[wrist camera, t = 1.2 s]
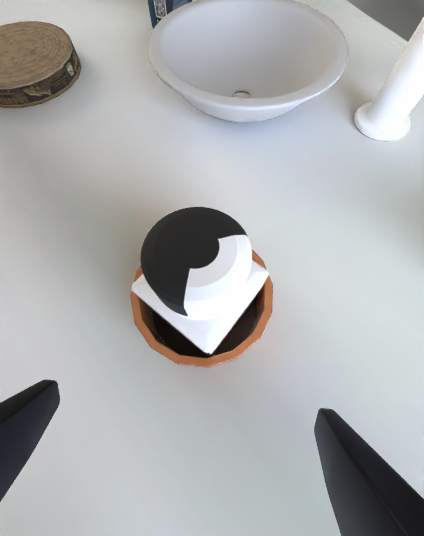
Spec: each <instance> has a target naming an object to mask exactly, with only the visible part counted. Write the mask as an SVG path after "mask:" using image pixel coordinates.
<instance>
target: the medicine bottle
mask: <svg viewBox="0 0 424 536" xmlns="http://www.w3.org/2000/svg"><path fill="white" fill-rule="evenodd" d="M141 268H142V272H143V274H142V275H141V276H140V277H139V278H138V279H137V280H136V281H135V282H134V284H133V285H132V291H133V292H134V293H135V294H136V295H137V296H138V297H139V298H140V299H141V300H142V301H143V302H144V303H145V304H146V305H147V306H148V307H149V308H151V309H152V310H153V311H154V312H155V313H156V314H157V315H158V316H159V317H161V318H162V319H163V320H164V321H165V322H167V323H168V324H169V325H170V326H171V327H172V328H174V329H175V330H176V331H177V332H178V333H179V334H181V335H182V336H183V337H184V338H185V339H187V340H188V341H189V342H190V343H191V344H192V345H194V346H195V347H196V348H197V349H198V350H199V351H201V352H202V353H203V354H204V355H205V356H206V357H212V356H213V355H214V353H215V352H216V351H217V349H218V348H219V347H220V345H221V344H222V343H223V341H224V340H225V339H226V337H227V336H228V335H229V333H230V332H231V331H232V329H233V328H234V326H235V325H236V324H237V322H238V321H239V320H240V318H241V317H242V316H243V314H244V313H245V312H246V310H247V309H248V308H249V306H250V305H251V304H252V302H253V301H254V300H255V298H256V296H257V294H258V293H259V291H260V289H261V287H262V286H263V284H264V282H265V280H266V279H267V277H268V271H267V270H266V269H265V268H263V267H262V266H260V265H259V264H257V263H256V262H254V261H253V260H252V249H251V244H250V241H249V238H248V236H247V234H246V233H245V231H244V229H243V228H242V227H241V226H240V224H239V223H238V222H236V221H235V220H234V219H233V218H232V217H230V216H229V215H227V214H225V213H223V212H221V211H218V210H215V209H211V208H205V207H190V208H185V209H181V210H178V211H175V212H173V213H170V214H168V215H167V216H165V217H164V218H162V219H161V220H160V221H158V222H157V223H156V224H155V225H154V226H153V227H152V229H151V230H150V231H149V233H148V234H147V236H146V238H145V240H144V243H143V246H142V250H141Z"/></svg>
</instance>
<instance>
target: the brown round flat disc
mask: <svg viewBox="0 0 424 536" xmlns="http://www.w3.org/2000/svg"><path fill="white" fill-rule="evenodd" d="M80 70H81V65H80V61H79V58H78V55H77V53H76V51H75V48H74V46H73V44H72V42H71V39H70V37H69V35H68V34H67V33H66V32H65V31H64V30H63V29H62V28H60V27H58V26H55V25H53V24H50V23H44V22H38V21H33V22H17V23H12V24H6V25H3V26H0V107H5V108H13V107H27V106H31V105H36V104H40V103H43V102H45V101H48V100H50V99H52V98H55V97H57V96H59V95H60V94H61V93H63V92H64V91H66V90H67V89H68V88H70V87H71V86H72V84H73V83H74V82H75V81H76V80H77V78H78V76H79V73H80Z"/></svg>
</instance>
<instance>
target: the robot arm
mask: <svg viewBox="0 0 424 536" xmlns="http://www.w3.org/2000/svg"><path fill="white" fill-rule="evenodd" d="M59 403H60V395H59V389H58V383H57V382H56V381H54V380H42V381H40V382H38V383H36V384H35V385H33V386H31V387H29V388H27V389H25V390H23V391H22V392H20V393H18V394H16V395H14V396H12V397H10V398H8V399H7V400H5V401H3V402H1V403H0V502H1V500H2V499H3V497H4V496H5V494H6V493H7V491H8V489H9V488H10V486H11V485H12V483H13V482H14V480H15V479H16V477H17V476H18V474H19V473H20V471H21V470H22V468H23V467H24V465H25V464H26V462H27V461H28V459H29V458H30V456H31V454H32V453H33V451H34V449H35V448H36V446H37V444H38V442H39V440H40V439H41V437H42V435H43V433H44V431H45V429H46V428H47V426H48V424H49V422H50V420H51V419H52V417H53V415H54V413H55V411H56V410H57V408H58V406H59ZM314 432H315V438H316V442H317V447H318V451H319V456H320V460H321V465H322V469H323V474H324V478H325V483H326V487H327V491H328V494H329V498H330V501H331V504H332V507H333V511H334V514H335V517H336V520H337V523H338V526H339V530H340V533H341V536H424V499H423V498H422V497H421V496H420V495H419V494H418V493H417V492H416V491H415V490H414V489H413V488H412V487H411V486H410V485H409V484H408V483H407V482H406V481H405V480H404V479H403V478H402V477H401V476H400V475H399V474H398V473H397V472H396V471H395V470H394V469H393V468H392V467H391V466H390V465H389V464H388V463H387V462H386V461H385V460H384V459H383V458H382V457H381V456H380V455H379V454H378V453H377V452H376V451H375V450H374V449H373V448H372V447H370V446H369V445H368V444H367V443H366V442H365V441H364V440H363V439H362V438H361V437H360V436H359V435H358V434H357V433H356V432H355V431H354V430H353V429H352V428H351V427H350V426H349V425H348V424H347V423H346V422H345V421H344V420H343V419H342V418H341V417H340V416H339V415H338V414H337V413H336V412H335V411H334V410H332V409H325V408H320V409H319V411H318V415H317V419H316V423H315V427H314Z"/></svg>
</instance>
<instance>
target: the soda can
mask: <svg viewBox="0 0 424 536" xmlns="http://www.w3.org/2000/svg"><path fill="white" fill-rule="evenodd" d="M190 2H192V0H148V5H149V11H150V17H151V22H152V27H153V29H154V28H155V26H156V25H157V24H158V23H159V22H160V21H161V19H163V18H164V17H165V16H166V15H168V14H169V13H170V12H172V11H174V10H175V9H177V8H179V7H181V6H183V5H185V4H188V3H190Z"/></svg>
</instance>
